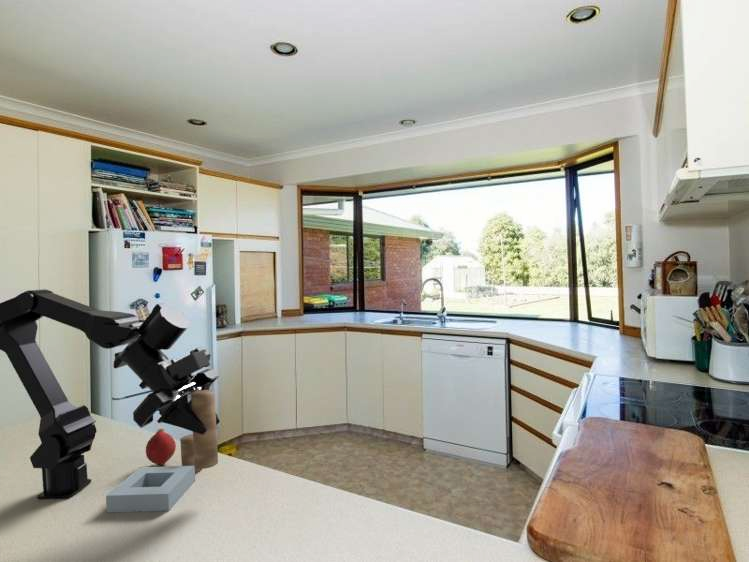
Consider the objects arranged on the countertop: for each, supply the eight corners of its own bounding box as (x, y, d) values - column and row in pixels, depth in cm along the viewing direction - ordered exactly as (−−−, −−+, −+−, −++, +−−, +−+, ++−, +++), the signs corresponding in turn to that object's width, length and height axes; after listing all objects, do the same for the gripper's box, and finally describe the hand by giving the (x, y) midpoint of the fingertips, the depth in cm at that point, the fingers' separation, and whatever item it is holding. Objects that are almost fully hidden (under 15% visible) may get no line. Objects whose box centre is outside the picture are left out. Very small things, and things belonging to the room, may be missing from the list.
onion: (164, 472, 94) (162, 434, 94) (140, 470, 95) (138, 433, 95) (181, 460, 99) (180, 424, 99) (158, 458, 101) (157, 423, 100)
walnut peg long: (190, 469, 80) (187, 396, 79) (200, 459, 84) (196, 390, 83) (213, 468, 80) (209, 395, 79) (221, 458, 84) (217, 389, 83)
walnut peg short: (178, 475, 92) (176, 441, 92) (187, 466, 96) (185, 434, 96) (198, 474, 92) (196, 441, 92) (205, 466, 96) (204, 433, 96)
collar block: (106, 512, 79) (105, 495, 79) (140, 482, 90) (139, 467, 90) (169, 510, 79) (168, 493, 78) (195, 480, 90) (194, 465, 89)
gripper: (145, 345, 72) (211, 414, 71) (207, 328, 91) (261, 383, 89) (104, 393, 74) (169, 462, 72) (174, 367, 92) (226, 421, 91)
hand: (211, 428), depth 81 cm, fingers closed on walnut peg long, 4 cm apart
